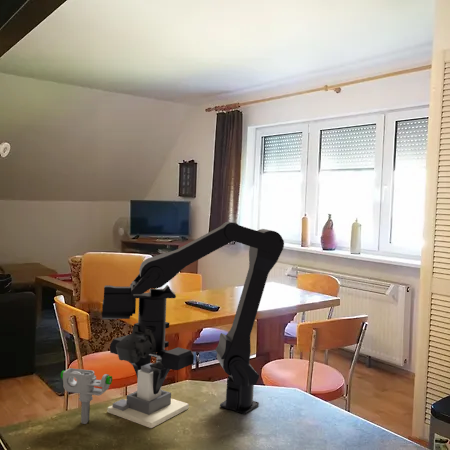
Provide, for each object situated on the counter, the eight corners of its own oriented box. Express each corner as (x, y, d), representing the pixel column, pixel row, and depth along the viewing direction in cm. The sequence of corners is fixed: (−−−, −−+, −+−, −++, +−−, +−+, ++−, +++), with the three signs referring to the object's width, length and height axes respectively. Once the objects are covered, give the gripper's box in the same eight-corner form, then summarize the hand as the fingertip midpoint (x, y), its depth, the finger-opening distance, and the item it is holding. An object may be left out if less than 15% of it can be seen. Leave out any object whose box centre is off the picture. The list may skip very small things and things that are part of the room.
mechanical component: (105, 428, 98) (107, 377, 97) (57, 421, 100) (58, 371, 99) (112, 422, 101) (114, 372, 100) (65, 415, 103) (66, 367, 102)
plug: (149, 393, 109) (150, 361, 109) (161, 396, 108) (162, 365, 107) (136, 398, 106) (138, 366, 106) (148, 402, 104) (149, 370, 104)
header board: (146, 394, 115) (146, 379, 115) (188, 408, 109) (189, 392, 109) (107, 412, 105) (107, 395, 105) (151, 428, 99) (152, 410, 98)
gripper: (91, 318, 104) (89, 392, 105) (161, 334, 94) (158, 416, 95) (129, 309, 114) (127, 377, 114) (196, 323, 104) (193, 398, 104)
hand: (149, 391), depth 107 cm, fingers closed on plug, 3 cm apart
